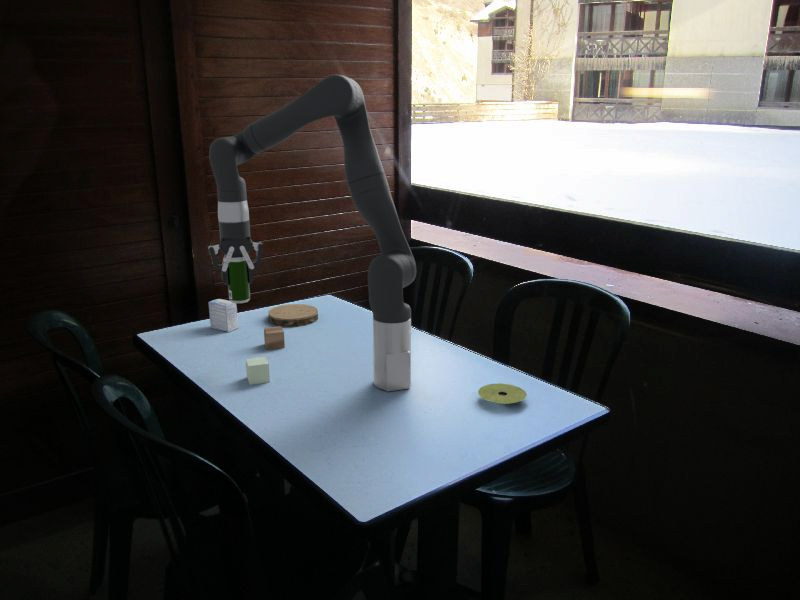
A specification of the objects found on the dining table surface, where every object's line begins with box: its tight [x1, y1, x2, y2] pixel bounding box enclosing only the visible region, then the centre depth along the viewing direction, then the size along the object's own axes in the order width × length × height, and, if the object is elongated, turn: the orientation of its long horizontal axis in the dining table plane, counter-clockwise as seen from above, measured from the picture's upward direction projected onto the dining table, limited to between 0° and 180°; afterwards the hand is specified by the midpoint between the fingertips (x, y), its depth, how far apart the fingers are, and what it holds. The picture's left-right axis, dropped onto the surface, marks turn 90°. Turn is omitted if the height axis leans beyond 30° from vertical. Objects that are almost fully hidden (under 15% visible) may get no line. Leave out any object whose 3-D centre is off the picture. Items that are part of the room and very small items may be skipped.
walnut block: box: [263, 326, 286, 351], centre depth 189 cm, size 5×5×5 cm
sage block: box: [245, 356, 271, 386], centre depth 166 cm, size 5×5×5 cm
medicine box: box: [208, 298, 239, 333], centre depth 204 cm, size 8×4×9 cm, turn 58°
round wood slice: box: [267, 303, 319, 328], centre depth 214 cm, size 16×16×3 cm
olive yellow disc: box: [477, 382, 528, 405], centre depth 154 cm, size 11×11×2 cm
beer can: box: [227, 256, 251, 304], centre depth 170 cm, size 5×5×12 cm
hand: (238, 283), depth 170 cm, fingers closed on beer can, 5 cm apart
